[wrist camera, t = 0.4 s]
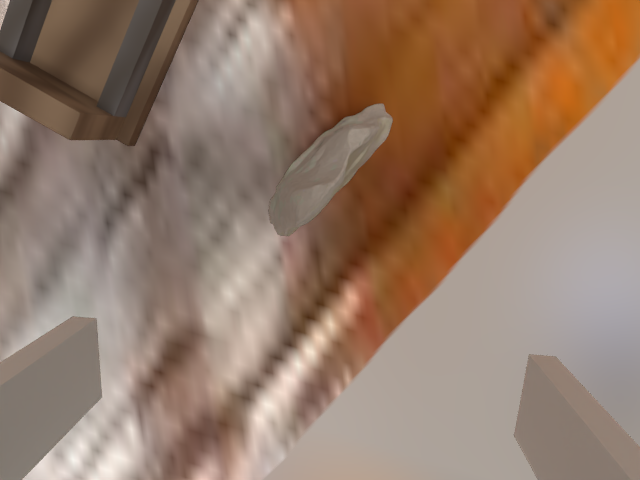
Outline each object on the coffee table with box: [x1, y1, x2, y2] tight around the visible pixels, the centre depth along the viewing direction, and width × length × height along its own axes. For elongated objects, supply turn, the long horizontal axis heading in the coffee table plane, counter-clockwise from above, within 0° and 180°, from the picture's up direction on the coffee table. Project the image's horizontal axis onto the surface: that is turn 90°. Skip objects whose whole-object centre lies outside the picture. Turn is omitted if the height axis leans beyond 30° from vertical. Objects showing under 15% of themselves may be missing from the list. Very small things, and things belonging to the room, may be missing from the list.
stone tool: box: [268, 104, 393, 236], centre depth 28 cm, size 11×4×15 cm, turn 138°
